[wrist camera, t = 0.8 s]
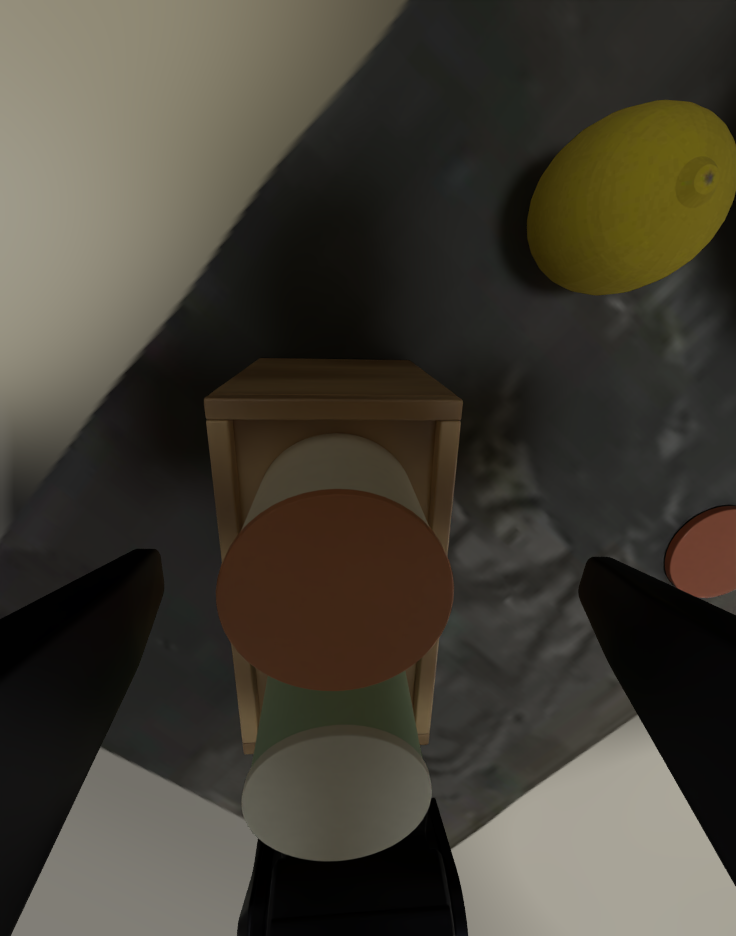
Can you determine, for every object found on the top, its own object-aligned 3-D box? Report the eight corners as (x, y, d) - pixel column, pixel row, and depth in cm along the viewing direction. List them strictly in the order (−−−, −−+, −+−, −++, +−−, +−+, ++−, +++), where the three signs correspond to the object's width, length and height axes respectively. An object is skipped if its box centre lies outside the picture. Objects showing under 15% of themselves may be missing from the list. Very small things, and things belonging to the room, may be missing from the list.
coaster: (744, 591, 27) (751, 596, 26) (653, 594, 26) (658, 599, 26) (778, 504, 25) (787, 508, 24) (680, 505, 24) (686, 509, 24)
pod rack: (397, 596, 25) (428, 745, 17) (275, 599, 25) (243, 755, 16) (410, 360, 20) (463, 399, 12) (259, 358, 20) (202, 398, 11)
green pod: (402, 713, 17) (425, 855, 12) (271, 720, 16) (248, 867, 12) (409, 607, 15) (439, 730, 11) (262, 612, 15) (232, 740, 10)
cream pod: (411, 573, 14) (444, 687, 10) (260, 577, 14) (227, 696, 10) (421, 429, 13) (466, 493, 8) (248, 428, 12) (202, 495, 8)
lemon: (615, 289, 20) (783, 281, 12) (497, 302, 20) (596, 301, 12) (630, 146, 18) (841, 33, 10) (498, 158, 18) (618, 53, 10)
